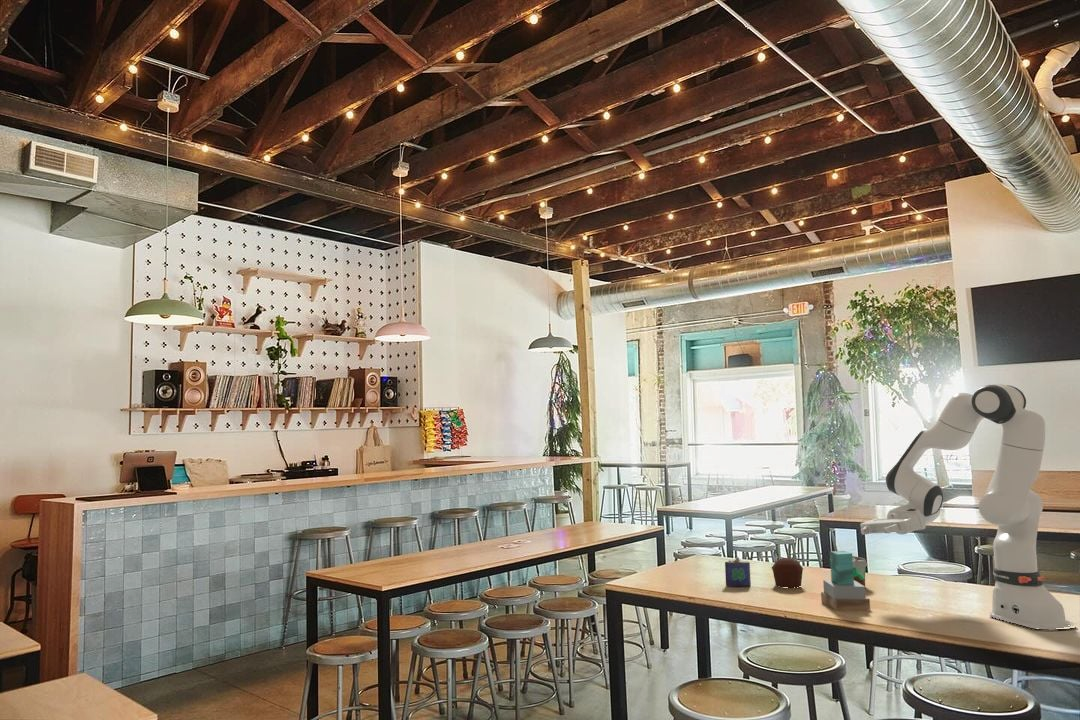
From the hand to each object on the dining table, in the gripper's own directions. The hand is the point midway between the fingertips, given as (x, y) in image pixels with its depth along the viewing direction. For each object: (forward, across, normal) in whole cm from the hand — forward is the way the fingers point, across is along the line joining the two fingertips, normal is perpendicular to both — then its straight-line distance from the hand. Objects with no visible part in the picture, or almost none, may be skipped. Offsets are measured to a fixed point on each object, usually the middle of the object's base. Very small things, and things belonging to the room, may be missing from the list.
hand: (873, 531), depth 237 cm
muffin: (+9, -40, +16) cm, 44 cm away
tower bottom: (+14, -9, +21) cm, 27 cm away
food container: (-13, -27, +23) cm, 38 cm away
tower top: (+13, -9, +17) cm, 23 cm away
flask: (+24, -48, +12) cm, 55 cm away
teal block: (+12, -8, +13) cm, 20 cm away
